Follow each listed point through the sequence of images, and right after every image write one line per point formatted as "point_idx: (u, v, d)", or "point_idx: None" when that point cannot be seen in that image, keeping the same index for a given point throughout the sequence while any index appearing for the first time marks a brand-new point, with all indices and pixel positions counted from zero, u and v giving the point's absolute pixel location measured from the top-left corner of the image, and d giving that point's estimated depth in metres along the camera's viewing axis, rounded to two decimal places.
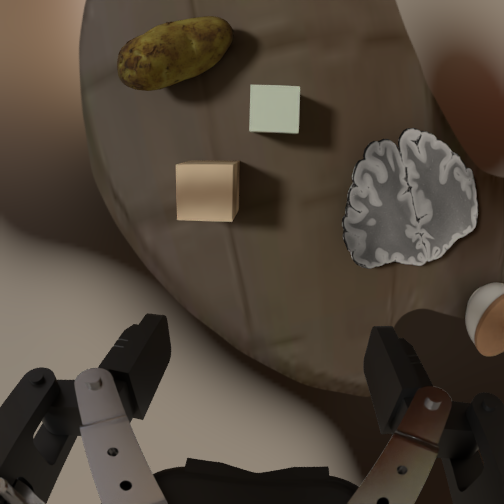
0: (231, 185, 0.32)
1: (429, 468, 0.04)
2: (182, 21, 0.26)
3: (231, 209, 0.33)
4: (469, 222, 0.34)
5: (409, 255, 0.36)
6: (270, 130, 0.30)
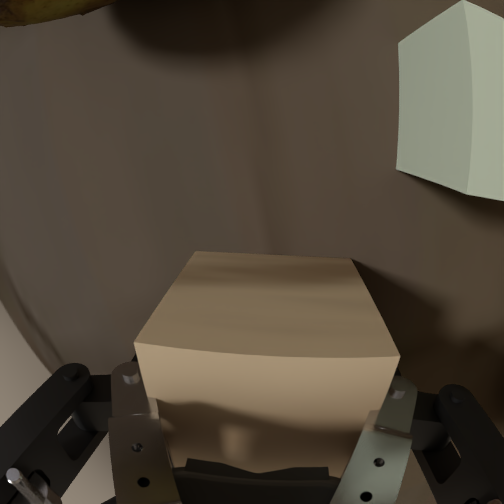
0: None
1: (406, 457, 0.05)
2: None
3: None
4: None
5: None
6: None
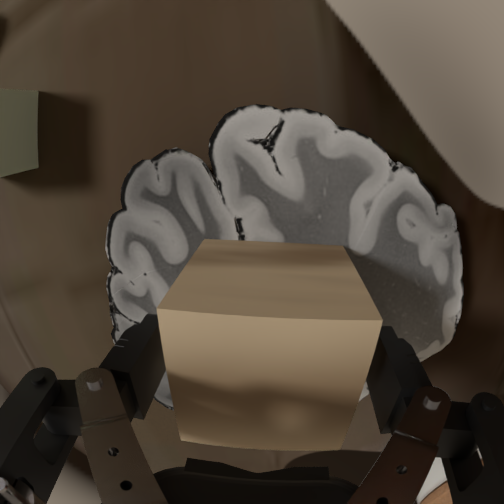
0: (362, 379, 0.08)
1: (428, 468, 0.04)
2: None
3: (345, 428, 0.09)
4: (436, 334, 0.15)
5: None
6: None
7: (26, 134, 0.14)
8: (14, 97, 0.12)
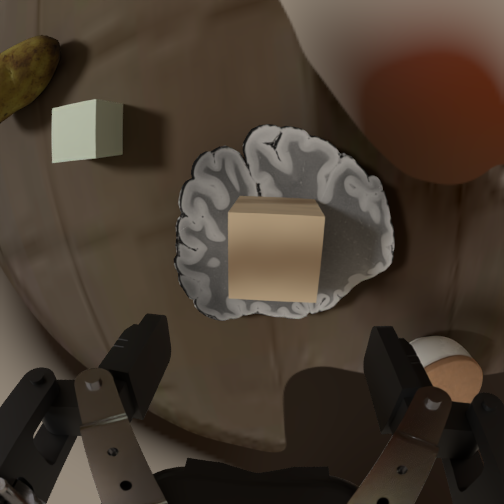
0: (320, 249, 0.20)
1: (429, 468, 0.04)
2: (6, 50, 0.19)
3: (316, 285, 0.21)
4: (379, 257, 0.26)
5: (279, 306, 0.28)
6: (69, 159, 0.23)
7: (117, 131, 0.25)
8: (111, 106, 0.24)
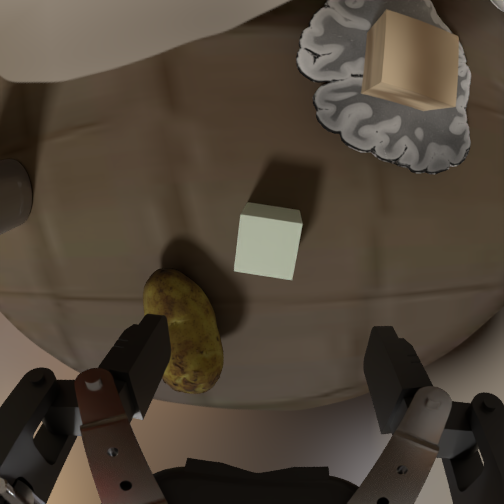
0: (414, 19, 0.15)
1: (429, 468, 0.04)
2: None
3: (443, 31, 0.15)
4: None
5: (460, 87, 0.21)
6: (294, 256, 0.26)
7: (276, 208, 0.29)
8: (250, 208, 0.28)
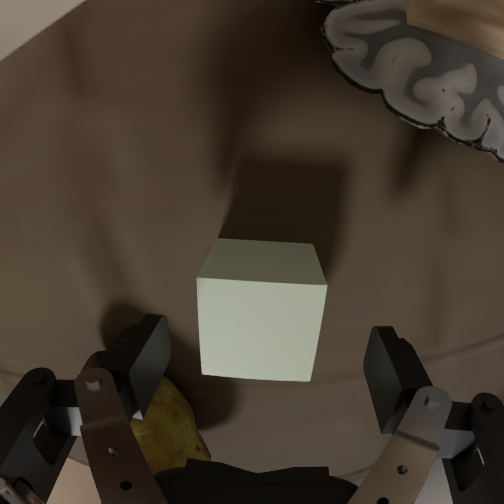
0: None
1: (429, 468, 0.04)
2: None
3: None
4: None
5: None
6: (313, 345, 0.13)
7: (270, 248, 0.15)
8: (220, 253, 0.15)
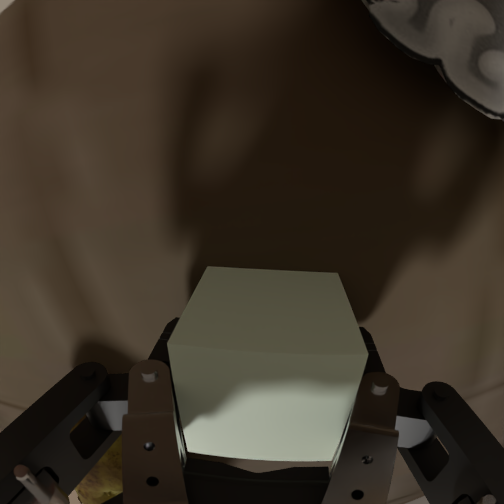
0: None
1: (394, 453, 0.05)
2: None
3: None
4: None
5: None
6: (340, 425, 0.08)
7: (280, 283, 0.11)
8: (207, 295, 0.10)
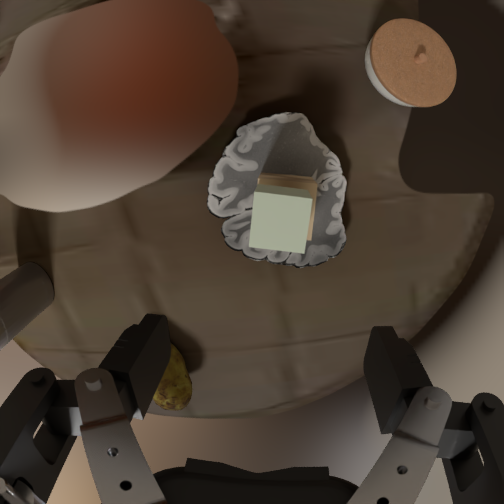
0: (279, 181, 0.31)
1: (429, 468, 0.04)
2: None
3: (304, 183, 0.31)
4: (296, 123, 0.34)
5: (335, 196, 0.37)
6: (306, 230, 0.27)
7: (286, 188, 0.30)
8: (261, 187, 0.29)
